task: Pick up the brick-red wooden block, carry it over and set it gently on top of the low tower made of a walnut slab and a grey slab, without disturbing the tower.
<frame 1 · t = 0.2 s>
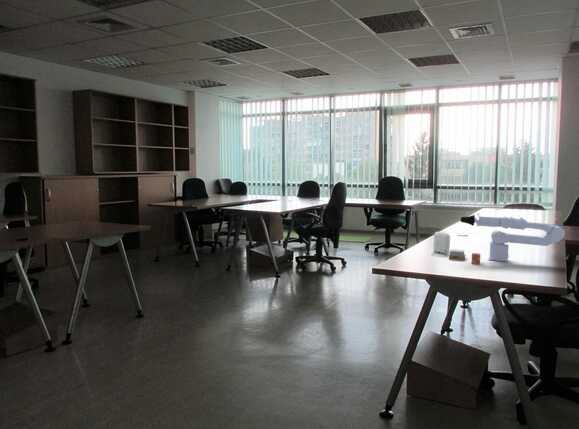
hand: (460, 219, 267), 21 cm above the table, tool horizontal, fingers open, 7 cm apart
grey slab: (456, 255, 264), point 2 cm above the table, touching walnut slab
photo printer: (441, 252, 283), on the table
walnut slab: (457, 259, 265), on the table, touching grey slab
red block: (475, 263, 251), on the table
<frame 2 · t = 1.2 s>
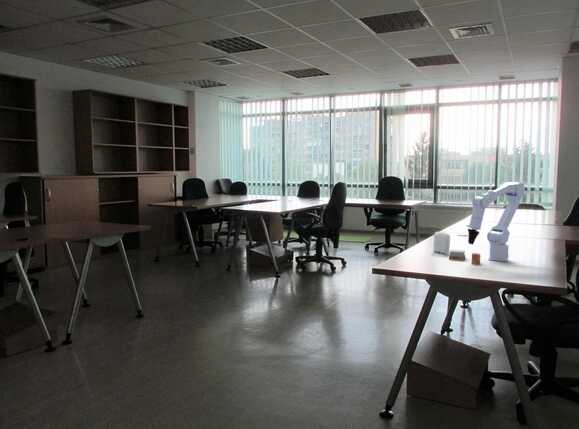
hand: (470, 243, 253), 10 cm above the table, tool tilted 15°, fingers open, 7 cm apart
nothing on the table moved.
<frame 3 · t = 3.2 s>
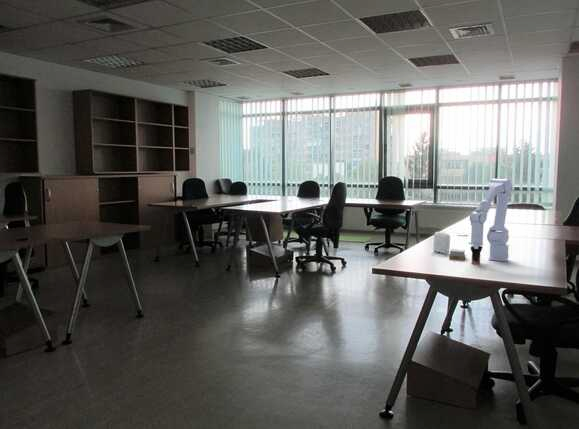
hand: (475, 260, 251), 1 cm above the table, tool pointing down, fingers closed on red block, 4 cm apart
grey slab: (457, 254, 264), point 2 cm above the table
walnut slab: (457, 259, 265), on the table
red block: (475, 263, 251), on the table, touching gripper
everything else where it was.
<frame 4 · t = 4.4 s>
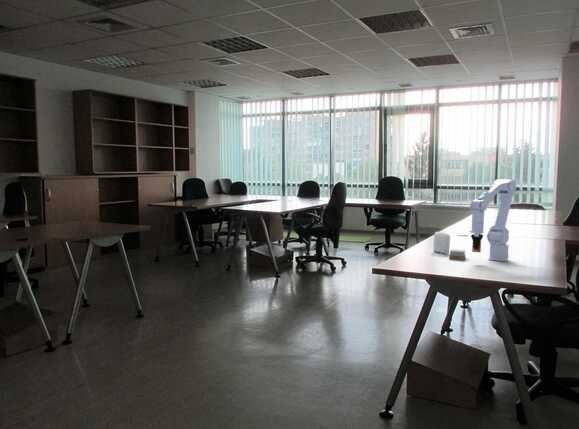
hand: (476, 248, 251), 8 cm above the table, tool pointing down, fingers closed on red block, 4 cm apart
grey slab: (457, 255, 264), point 2 cm above the table, touching walnut slab
walnut slab: (457, 259, 265), on the table, touching grey slab
red block: (476, 251, 251), point 6 cm above the table, touching gripper
everything else where it was.
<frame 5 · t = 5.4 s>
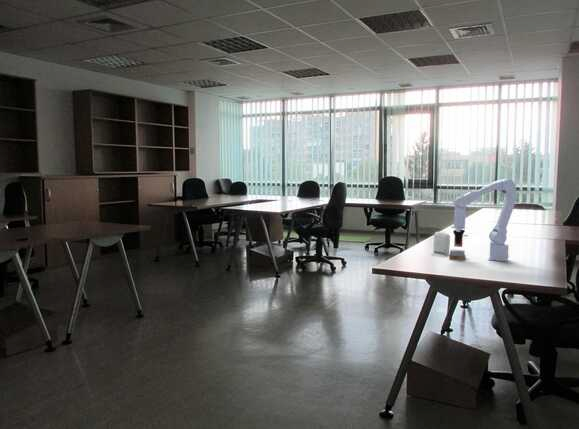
hand: (458, 243, 263), 8 cm above the table, tool pointing down, fingers closed on red block, 4 cm apart
red block: (458, 246, 263), point 7 cm above the table, touching gripper
everything else where it was.
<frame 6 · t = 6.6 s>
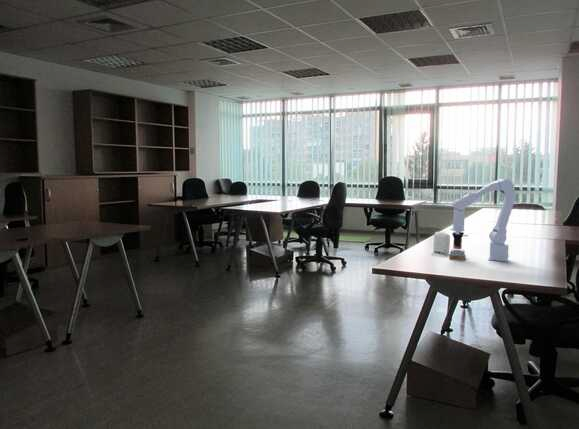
hand: (457, 245, 264), 7 cm above the table, tool pointing down, fingers closed on red block, 4 cm apart
red block: (457, 248, 264), point 6 cm above the table, touching gripper
everything else where it was.
when the fingers open (7 cm above the table, at t = 7.4 s): red block drops 1 cm, point 4 cm above the table.
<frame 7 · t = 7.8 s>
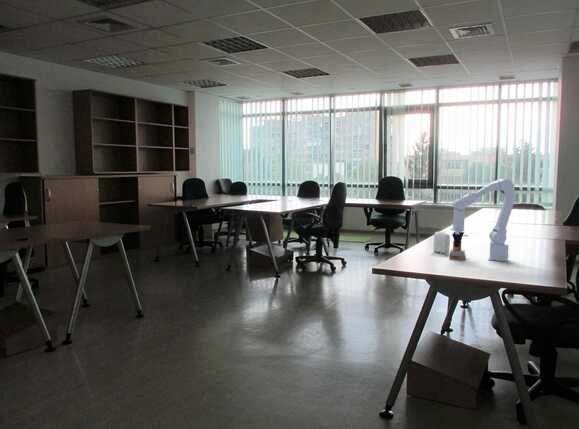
hand: (457, 245, 264), 7 cm above the table, tool pointing down, fingers open, 7 cm apart
red block: (456, 250, 264), point 4 cm above the table
everything else where it was.
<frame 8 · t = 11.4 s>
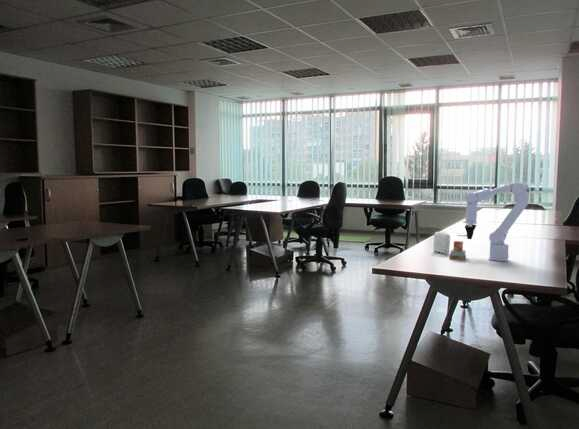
hand: (469, 238, 271), 10 cm above the table, tool pointing down, fingers open, 7 cm apart
nothing on the table moved.
at the end: red block 0.3 cm off-centre on the walnut slab, point 5.0 cm above the walnut slab's base; red block tilted 1°; grey slab moved 0.7 cm from its start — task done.
